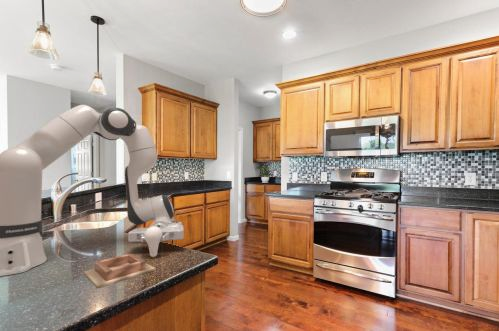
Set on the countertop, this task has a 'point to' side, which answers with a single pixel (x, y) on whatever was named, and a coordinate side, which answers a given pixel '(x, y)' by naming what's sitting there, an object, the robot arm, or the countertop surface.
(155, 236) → the lightbulb
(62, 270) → the countertop surface
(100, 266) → the socket block
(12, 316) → the countertop surface
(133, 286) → the countertop surface
